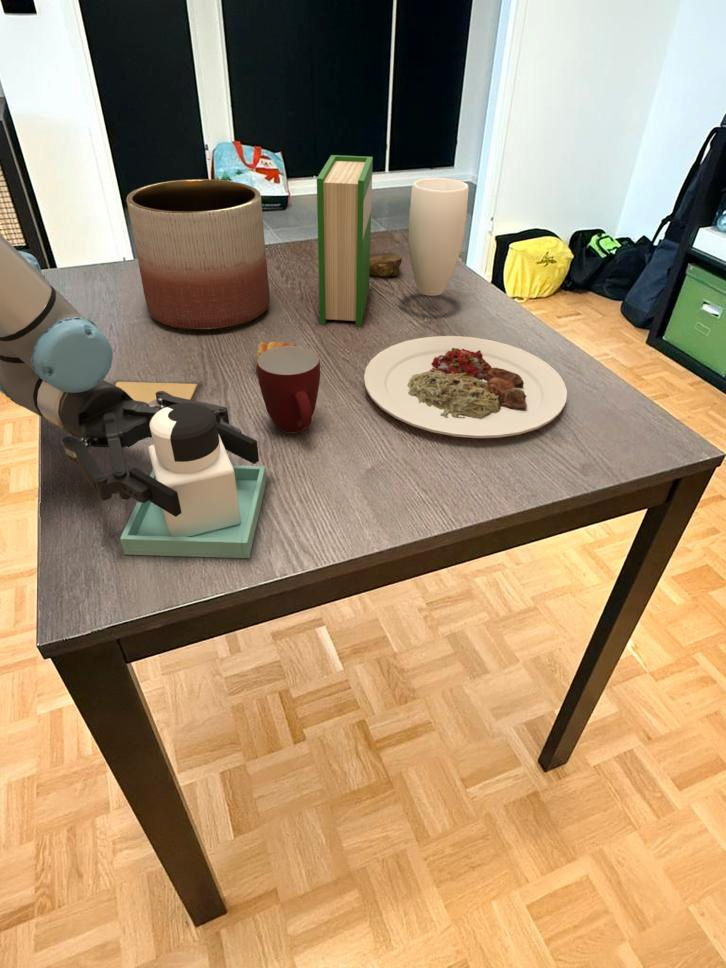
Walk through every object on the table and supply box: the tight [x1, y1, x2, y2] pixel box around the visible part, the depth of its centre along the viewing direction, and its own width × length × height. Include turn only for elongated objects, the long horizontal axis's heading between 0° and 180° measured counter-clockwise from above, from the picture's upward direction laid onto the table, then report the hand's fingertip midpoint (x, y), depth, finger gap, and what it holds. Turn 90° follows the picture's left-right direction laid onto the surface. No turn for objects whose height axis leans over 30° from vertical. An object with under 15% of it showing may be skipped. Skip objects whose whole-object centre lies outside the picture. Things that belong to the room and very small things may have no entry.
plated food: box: [363, 335, 568, 439], centre depth 93 cm, size 30×30×3 cm
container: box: [147, 403, 241, 537], centre depth 66 cm, size 8×8×13 cm
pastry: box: [255, 340, 297, 369], centre depth 97 cm, size 9×7×4 cm
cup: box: [408, 177, 470, 297], centre depth 112 cm, size 10×10×22 cm
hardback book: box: [316, 154, 374, 327], centre depth 111 cm, size 18×7×24 cm, turn 175°
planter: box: [126, 178, 270, 332], centre depth 109 cm, size 22×22×20 cm
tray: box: [119, 464, 268, 559], centre depth 70 cm, size 13×13×2 cm
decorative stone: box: [369, 252, 403, 279], centre depth 133 cm, size 10×9×4 cm
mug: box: [256, 345, 321, 434], centre depth 82 cm, size 11×8×10 cm
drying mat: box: [114, 381, 198, 403], centre depth 89 cm, size 12×10×1 cm
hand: (218, 477), depth 64 cm, fingers closed on container, 10 cm apart
